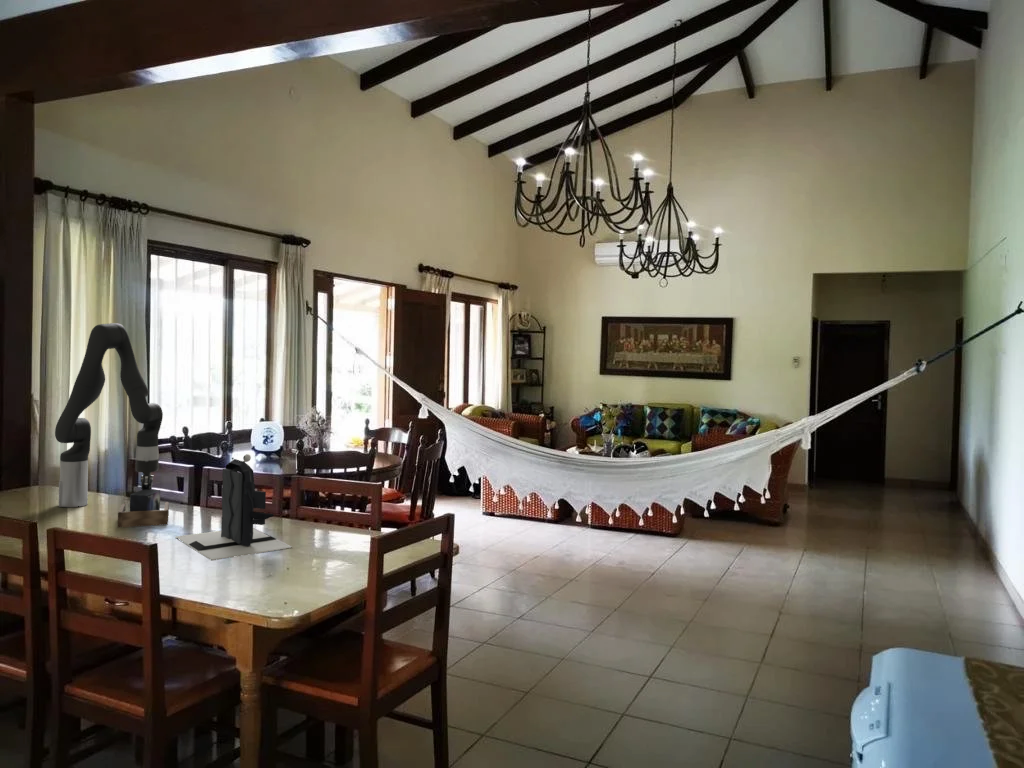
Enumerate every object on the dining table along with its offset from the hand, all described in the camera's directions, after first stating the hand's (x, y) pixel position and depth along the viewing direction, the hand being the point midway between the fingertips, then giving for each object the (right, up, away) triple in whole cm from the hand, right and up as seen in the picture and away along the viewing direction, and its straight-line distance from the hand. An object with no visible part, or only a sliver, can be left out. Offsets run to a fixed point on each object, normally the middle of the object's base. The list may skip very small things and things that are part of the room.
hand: (146, 505), depth 277 cm
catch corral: (+4, -4, -9) cm, 11 cm away
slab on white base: (+44, -7, -34) cm, 56 cm away
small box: (+4, -4, -9) cm, 11 cm away
